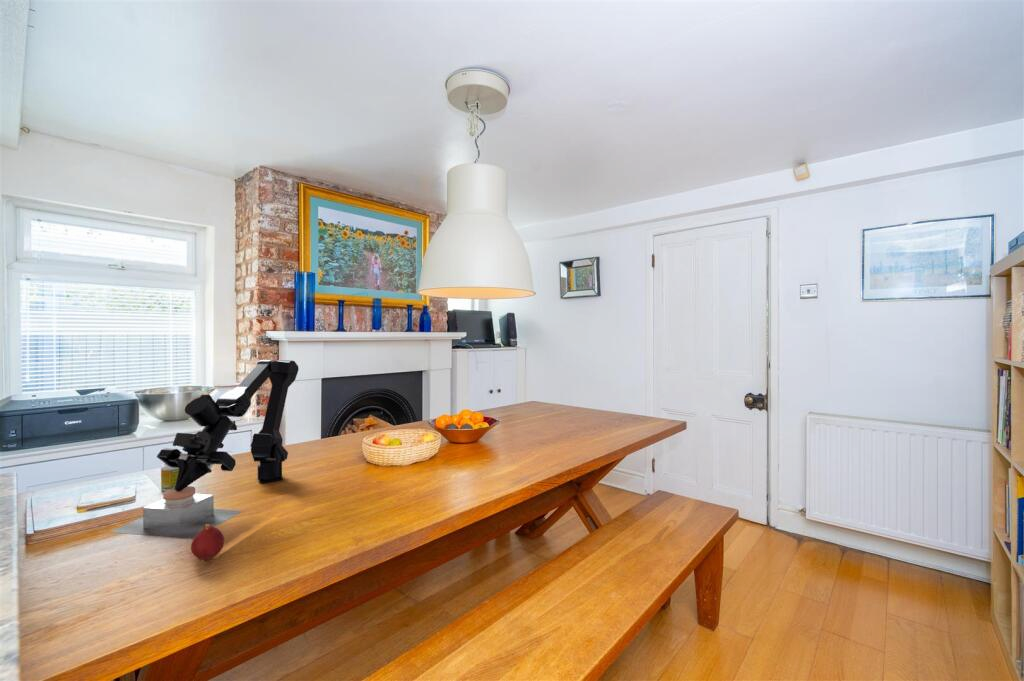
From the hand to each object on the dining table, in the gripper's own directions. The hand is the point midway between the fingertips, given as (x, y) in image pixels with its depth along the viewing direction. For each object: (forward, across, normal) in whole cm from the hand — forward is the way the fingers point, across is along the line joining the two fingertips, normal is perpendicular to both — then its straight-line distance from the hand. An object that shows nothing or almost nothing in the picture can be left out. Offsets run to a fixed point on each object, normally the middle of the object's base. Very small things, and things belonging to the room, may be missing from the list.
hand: (177, 490), depth 111 cm
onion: (+16, +21, -3) cm, 26 cm away
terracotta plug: (+4, 0, +5) cm, 7 cm away
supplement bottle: (-9, -24, +22) cm, 34 cm away
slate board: (+6, 0, +7) cm, 9 cm away
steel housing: (+5, 0, +6) cm, 8 cm away
